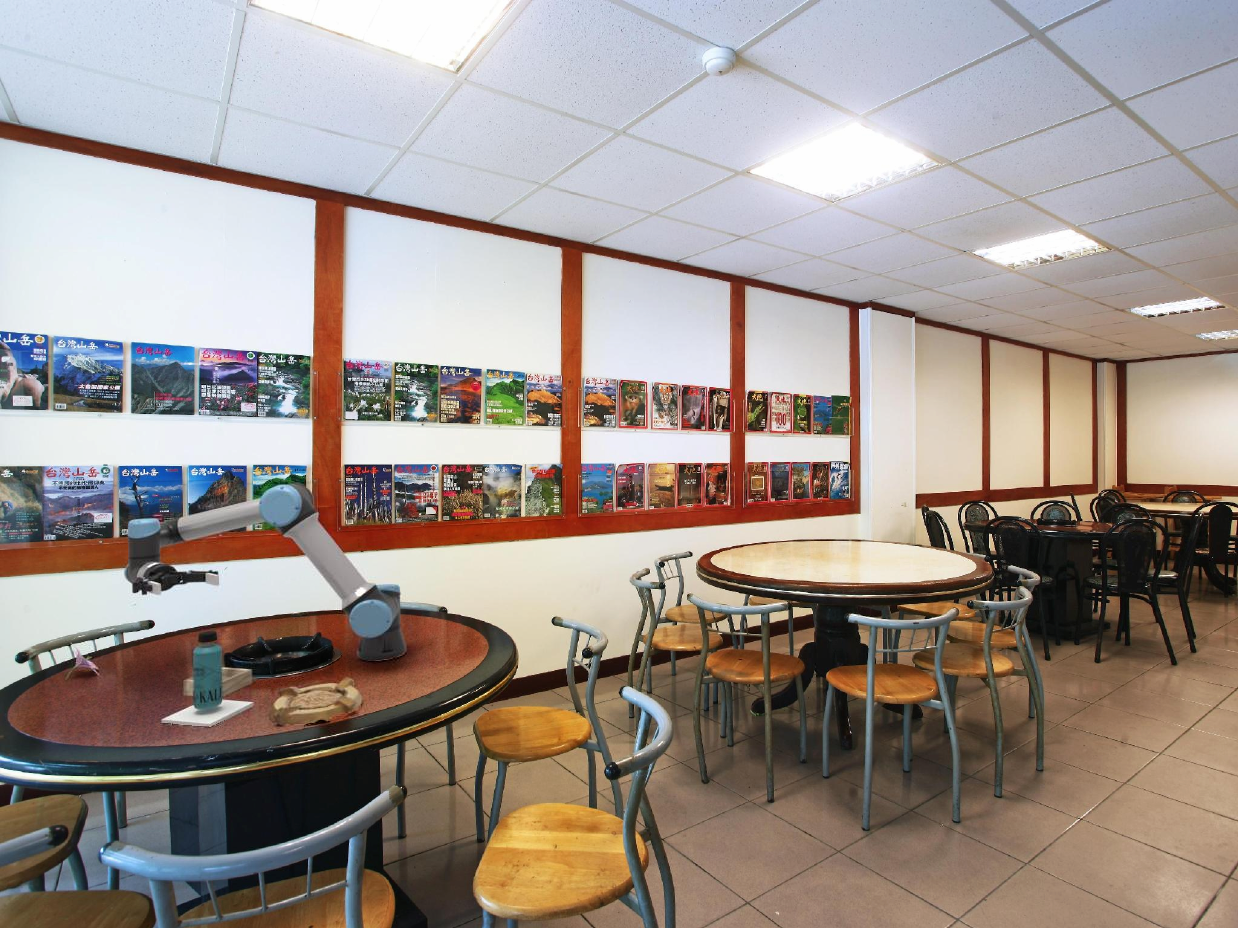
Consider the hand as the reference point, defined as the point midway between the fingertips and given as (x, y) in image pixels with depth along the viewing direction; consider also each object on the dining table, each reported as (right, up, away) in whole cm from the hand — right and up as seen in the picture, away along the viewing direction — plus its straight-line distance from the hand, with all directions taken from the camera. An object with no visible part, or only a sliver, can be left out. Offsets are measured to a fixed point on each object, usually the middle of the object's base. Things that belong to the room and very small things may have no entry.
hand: (189, 584), depth 172 cm
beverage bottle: (+8, -31, -5) cm, 33 cm away
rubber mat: (+8, -32, -5) cm, 33 cm away
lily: (-48, -32, +25) cm, 63 cm away
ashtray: (+34, -32, -1) cm, 47 cm away
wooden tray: (0, -32, +13) cm, 34 cm away
